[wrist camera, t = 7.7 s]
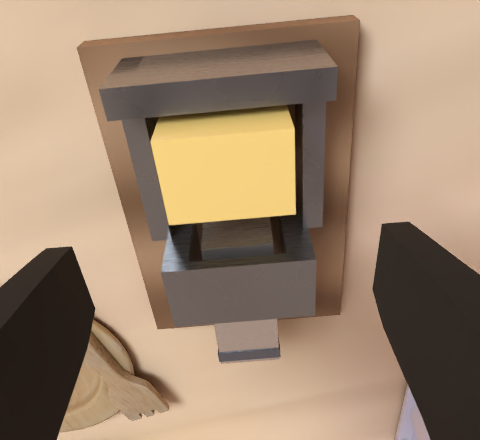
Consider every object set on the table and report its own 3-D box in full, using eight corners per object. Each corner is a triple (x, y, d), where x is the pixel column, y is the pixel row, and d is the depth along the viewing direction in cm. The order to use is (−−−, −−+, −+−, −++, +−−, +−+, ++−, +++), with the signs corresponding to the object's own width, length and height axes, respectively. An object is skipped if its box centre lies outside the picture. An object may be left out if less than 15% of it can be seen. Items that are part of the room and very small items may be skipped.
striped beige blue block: (274, 314, 23) (280, 360, 20) (220, 318, 23) (219, 364, 21) (268, 204, 19) (274, 244, 17) (203, 209, 19) (199, 250, 17)
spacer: (281, 153, 18) (295, 214, 14) (180, 162, 18) (168, 225, 14) (278, 81, 16) (294, 128, 12) (167, 91, 16) (150, 141, 13)
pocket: (314, 200, 19) (330, 249, 16) (158, 214, 19) (146, 265, 16) (316, 39, 15) (337, 66, 12) (121, 58, 15) (98, 89, 13)
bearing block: (300, 253, 21) (315, 315, 18) (182, 263, 21) (174, 327, 18) (300, 201, 19) (316, 259, 16) (171, 213, 19) (160, 272, 16)
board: (336, 301, 24) (339, 314, 23) (159, 315, 24) (157, 329, 24) (352, 15, 16) (359, 19, 15) (84, 41, 16) (76, 47, 15)
